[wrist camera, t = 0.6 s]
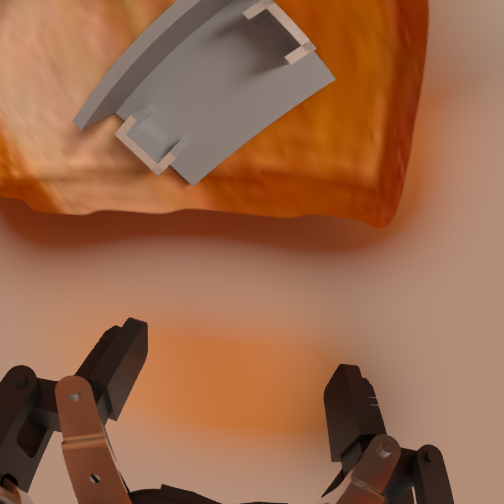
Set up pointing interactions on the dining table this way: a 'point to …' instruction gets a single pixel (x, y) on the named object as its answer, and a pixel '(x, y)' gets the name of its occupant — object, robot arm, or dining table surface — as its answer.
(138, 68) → the hinge bracket
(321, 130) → the dining table surface
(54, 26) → the dining table surface
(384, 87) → the dining table surface
